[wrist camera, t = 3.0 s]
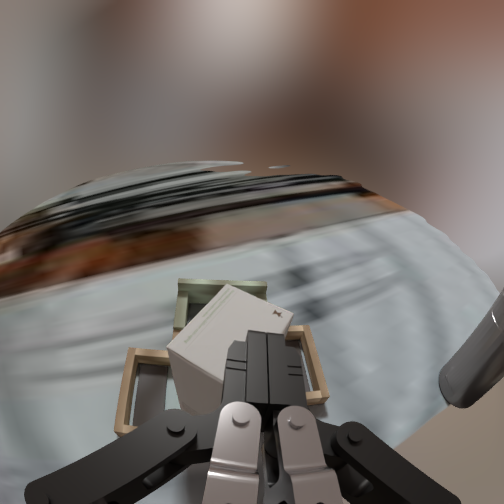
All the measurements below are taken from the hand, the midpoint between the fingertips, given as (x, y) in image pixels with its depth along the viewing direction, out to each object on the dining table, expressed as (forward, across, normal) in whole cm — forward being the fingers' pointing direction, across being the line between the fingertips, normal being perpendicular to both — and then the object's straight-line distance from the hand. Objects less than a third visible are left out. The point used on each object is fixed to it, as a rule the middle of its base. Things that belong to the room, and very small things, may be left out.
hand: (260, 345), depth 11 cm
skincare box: (+8, 0, +20) cm, 22 cm away
